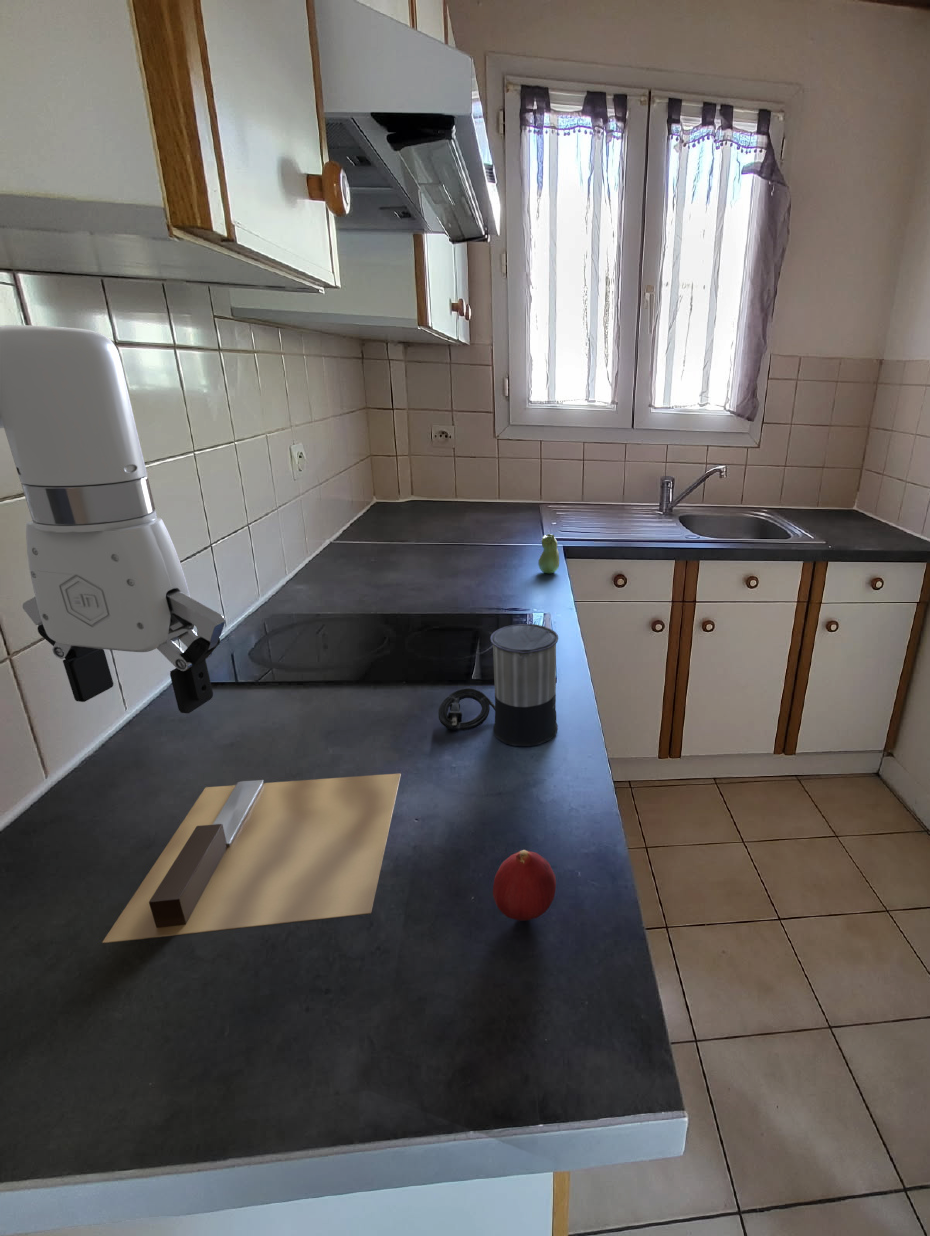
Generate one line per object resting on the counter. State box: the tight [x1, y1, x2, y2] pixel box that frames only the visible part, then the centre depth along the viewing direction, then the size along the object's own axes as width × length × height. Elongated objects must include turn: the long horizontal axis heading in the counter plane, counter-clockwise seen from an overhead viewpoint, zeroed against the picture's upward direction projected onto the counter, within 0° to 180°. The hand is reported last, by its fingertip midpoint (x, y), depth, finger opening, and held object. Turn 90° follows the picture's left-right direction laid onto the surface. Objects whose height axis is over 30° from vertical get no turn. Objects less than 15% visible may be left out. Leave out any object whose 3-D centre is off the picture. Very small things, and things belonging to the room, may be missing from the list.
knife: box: [149, 779, 265, 928], centre depth 66 cm, size 21×3×3 cm, turn 11°
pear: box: [537, 533, 560, 574], centre depth 160 cm, size 6×5×10 cm
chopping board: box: [101, 772, 402, 944], centre depth 67 cm, size 22×22×2 cm
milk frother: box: [438, 623, 559, 747], centre depth 90 cm, size 14×16×15 cm
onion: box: [492, 849, 557, 921], centre depth 60 cm, size 6×6×8 cm
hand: (145, 699), depth 55 cm, fingers open, 9 cm apart
